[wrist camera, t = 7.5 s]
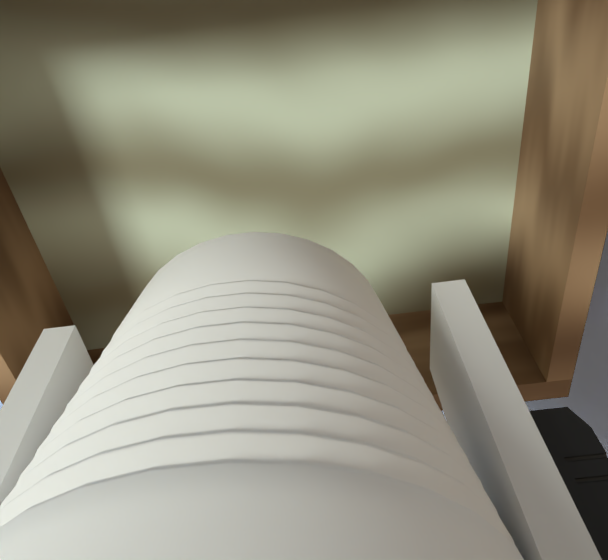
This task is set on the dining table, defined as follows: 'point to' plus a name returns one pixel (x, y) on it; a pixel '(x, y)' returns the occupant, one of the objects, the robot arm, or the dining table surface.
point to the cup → (253, 428)
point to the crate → (308, 157)
